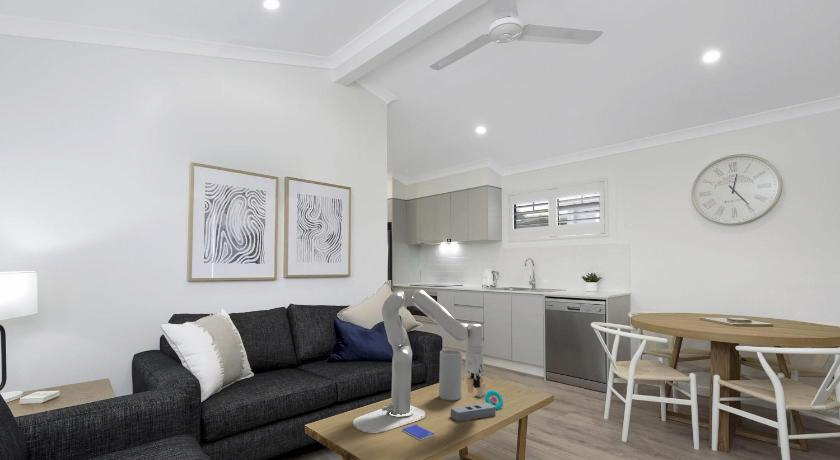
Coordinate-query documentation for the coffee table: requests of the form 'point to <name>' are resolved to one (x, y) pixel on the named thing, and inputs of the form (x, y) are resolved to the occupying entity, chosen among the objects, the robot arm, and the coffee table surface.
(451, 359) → the cylinder vase
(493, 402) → the ornament
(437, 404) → the coffee table surface
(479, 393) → the architectural model
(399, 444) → the coffee table surface
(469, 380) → the clip
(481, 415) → the grey slotted block
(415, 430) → the hard drive
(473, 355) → the robot arm
